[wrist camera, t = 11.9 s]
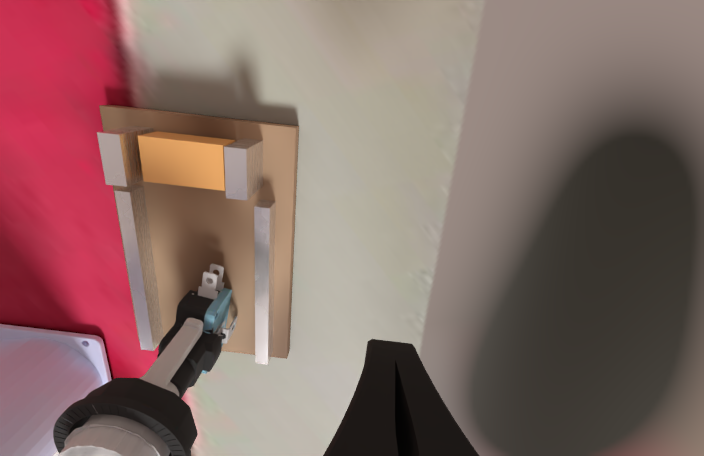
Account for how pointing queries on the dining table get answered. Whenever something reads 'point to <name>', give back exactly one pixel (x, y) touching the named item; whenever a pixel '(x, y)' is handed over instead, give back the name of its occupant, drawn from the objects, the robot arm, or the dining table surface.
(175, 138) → the peach rectangular block
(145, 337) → the white guide rails
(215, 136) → the mounting board
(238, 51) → the dining table surface
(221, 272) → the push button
